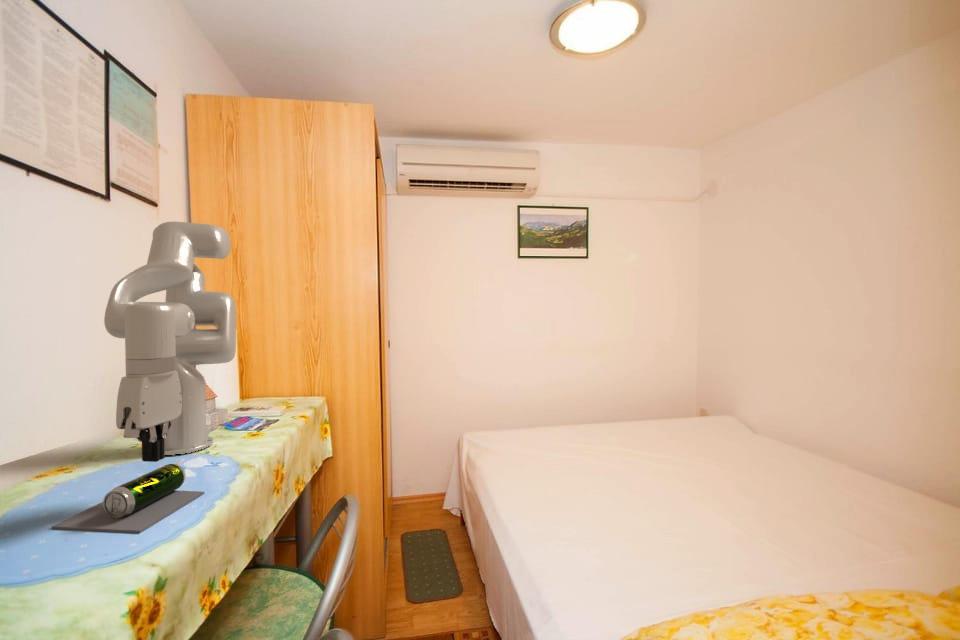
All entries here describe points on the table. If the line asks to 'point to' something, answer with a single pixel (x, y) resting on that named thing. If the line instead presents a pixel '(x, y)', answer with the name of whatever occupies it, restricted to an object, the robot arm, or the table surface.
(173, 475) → the green soda can
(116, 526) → the mat
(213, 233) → the robot arm
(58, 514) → the table surface
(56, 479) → the table surface
